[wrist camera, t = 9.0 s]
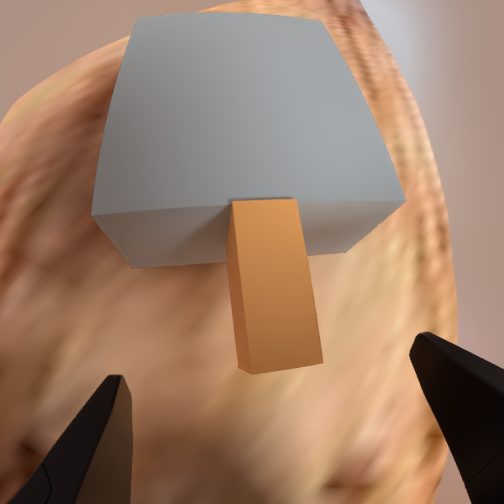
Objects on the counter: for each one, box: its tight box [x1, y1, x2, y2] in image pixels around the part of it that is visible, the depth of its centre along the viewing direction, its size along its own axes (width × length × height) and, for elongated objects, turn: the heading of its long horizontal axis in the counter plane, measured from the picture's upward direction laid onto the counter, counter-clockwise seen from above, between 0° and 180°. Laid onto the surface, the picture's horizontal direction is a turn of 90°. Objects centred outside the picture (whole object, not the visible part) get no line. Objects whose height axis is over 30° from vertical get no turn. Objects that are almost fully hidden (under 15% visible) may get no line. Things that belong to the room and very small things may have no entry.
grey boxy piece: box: [91, 12, 406, 374], centre depth 13 cm, size 18×11×6 cm, turn 6°
